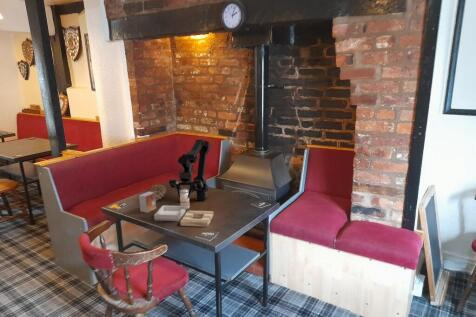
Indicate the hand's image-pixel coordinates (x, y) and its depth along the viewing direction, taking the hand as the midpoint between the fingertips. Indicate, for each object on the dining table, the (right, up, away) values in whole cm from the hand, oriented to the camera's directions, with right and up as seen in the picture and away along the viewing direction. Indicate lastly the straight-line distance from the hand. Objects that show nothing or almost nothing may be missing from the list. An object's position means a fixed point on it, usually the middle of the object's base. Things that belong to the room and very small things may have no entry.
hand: (183, 197), depth 190 cm
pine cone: (-25, -6, +33) cm, 42 cm away
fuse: (0, -6, +3) cm, 7 cm away
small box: (-25, -10, +19) cm, 32 cm away
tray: (-9, -12, +9) cm, 17 cm away
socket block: (+7, -13, +2) cm, 15 cm away
